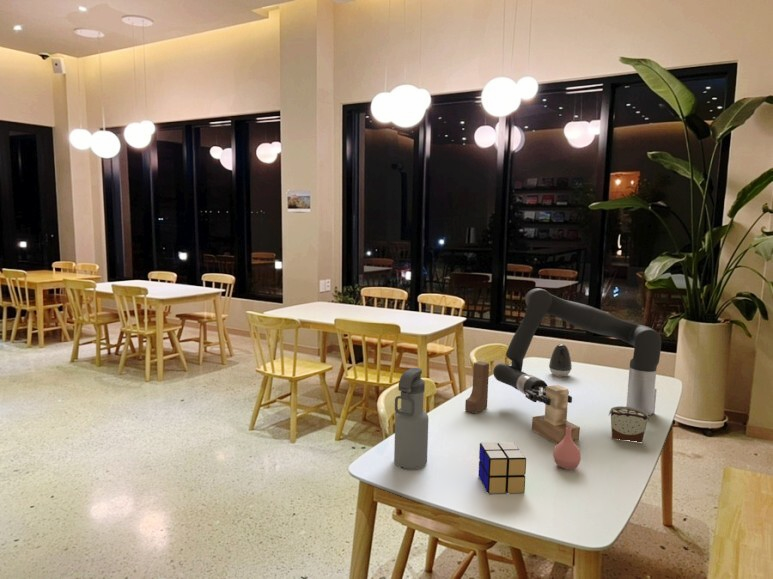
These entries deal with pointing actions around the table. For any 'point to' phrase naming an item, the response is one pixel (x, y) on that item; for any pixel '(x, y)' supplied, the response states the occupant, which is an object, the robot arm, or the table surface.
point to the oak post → (556, 405)
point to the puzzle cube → (502, 468)
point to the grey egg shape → (560, 361)
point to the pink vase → (567, 452)
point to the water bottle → (411, 422)
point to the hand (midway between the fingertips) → (560, 401)
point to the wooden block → (478, 388)
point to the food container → (628, 423)
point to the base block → (554, 429)
